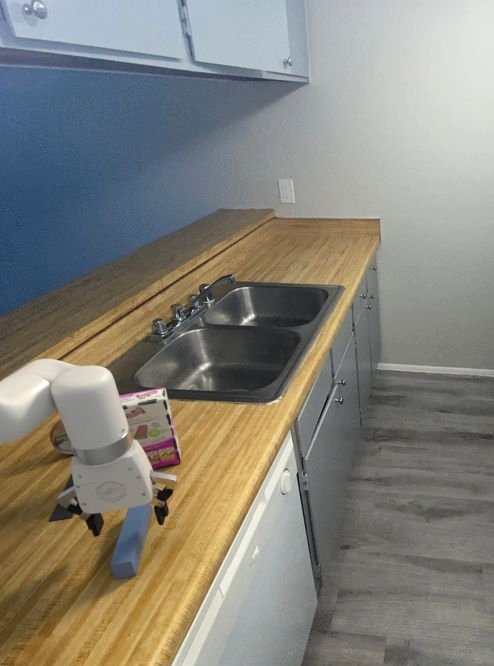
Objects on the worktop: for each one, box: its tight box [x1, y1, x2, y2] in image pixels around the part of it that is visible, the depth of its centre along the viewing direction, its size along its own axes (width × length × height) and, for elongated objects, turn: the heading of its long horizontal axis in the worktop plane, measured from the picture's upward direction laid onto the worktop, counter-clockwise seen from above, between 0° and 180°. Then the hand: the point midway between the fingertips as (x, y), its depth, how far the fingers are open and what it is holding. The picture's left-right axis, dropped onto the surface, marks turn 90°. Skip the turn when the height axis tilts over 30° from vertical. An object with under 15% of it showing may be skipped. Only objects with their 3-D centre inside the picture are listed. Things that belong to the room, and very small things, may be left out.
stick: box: [109, 502, 154, 580], centre depth 81 cm, size 3×14×4 cm, turn 15°
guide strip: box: [48, 473, 78, 522], centre depth 91 cm, size 4×14×1 cm, turn 15°
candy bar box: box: [119, 386, 182, 470], centre depth 95 cm, size 11×5×16 cm, turn 114°
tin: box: [49, 418, 73, 456], centre depth 102 cm, size 15×3×8 cm, turn 137°
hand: (131, 524), depth 79 cm, fingers open, 9 cm apart
